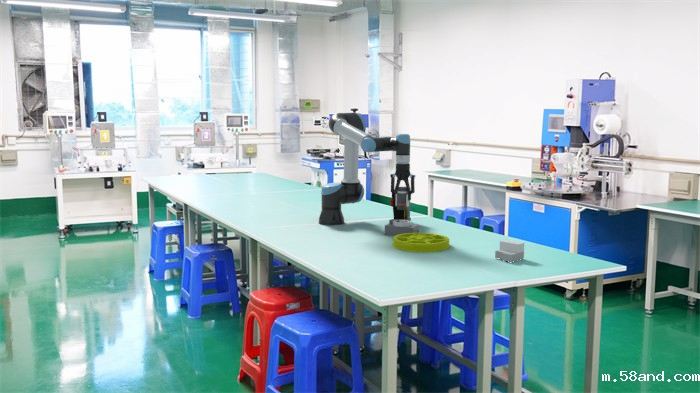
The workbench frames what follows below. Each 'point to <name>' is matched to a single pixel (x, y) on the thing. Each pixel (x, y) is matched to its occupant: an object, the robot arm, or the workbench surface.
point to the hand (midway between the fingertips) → (402, 205)
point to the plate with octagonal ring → (400, 227)
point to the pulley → (421, 242)
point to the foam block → (510, 250)
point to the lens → (402, 198)
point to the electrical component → (400, 211)
